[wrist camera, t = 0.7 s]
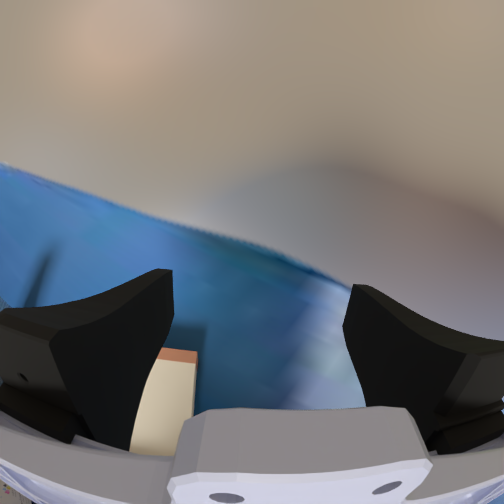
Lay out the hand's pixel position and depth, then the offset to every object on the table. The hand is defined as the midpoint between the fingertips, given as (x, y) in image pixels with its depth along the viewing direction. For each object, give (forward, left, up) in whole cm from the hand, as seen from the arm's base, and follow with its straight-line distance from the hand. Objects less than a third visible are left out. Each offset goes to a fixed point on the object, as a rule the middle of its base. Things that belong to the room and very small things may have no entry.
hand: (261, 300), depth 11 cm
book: (-4, +7, -16) cm, 18 cm away
